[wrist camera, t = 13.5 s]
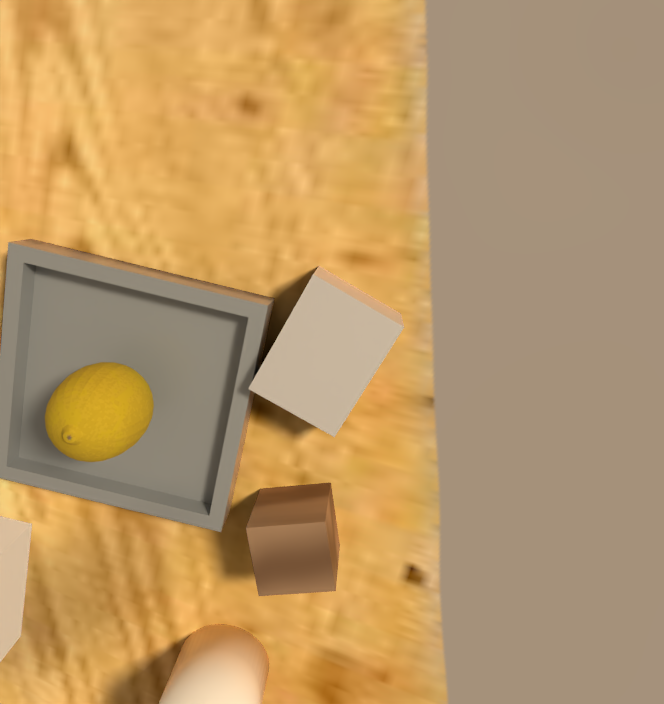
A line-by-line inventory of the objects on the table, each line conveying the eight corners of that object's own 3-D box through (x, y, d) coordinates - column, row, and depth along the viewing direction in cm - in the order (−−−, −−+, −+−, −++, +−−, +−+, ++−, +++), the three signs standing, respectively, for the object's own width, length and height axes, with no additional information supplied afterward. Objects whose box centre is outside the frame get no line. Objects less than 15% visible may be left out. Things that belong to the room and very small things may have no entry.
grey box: (319, 265, 36) (313, 274, 33) (400, 312, 37) (404, 327, 33) (260, 369, 39) (248, 388, 35) (338, 412, 39) (334, 437, 35)
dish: (31, 239, 37) (8, 242, 35) (274, 298, 37) (267, 305, 35) (12, 459, 41) (-9, 475, 39) (229, 513, 41) (221, 532, 39)
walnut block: (260, 488, 41) (245, 528, 36) (330, 482, 40) (325, 521, 35) (271, 549, 42) (258, 596, 37) (339, 544, 42) (335, 590, 37)
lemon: (157, 438, 39) (104, 499, 31) (79, 408, 39) (7, 462, 31) (181, 366, 38) (132, 411, 30) (100, 334, 37) (30, 372, 30)
